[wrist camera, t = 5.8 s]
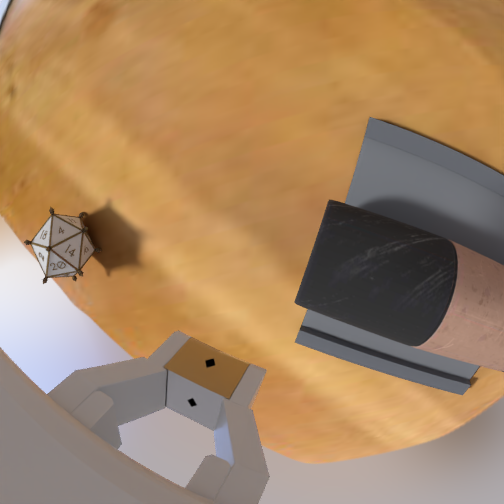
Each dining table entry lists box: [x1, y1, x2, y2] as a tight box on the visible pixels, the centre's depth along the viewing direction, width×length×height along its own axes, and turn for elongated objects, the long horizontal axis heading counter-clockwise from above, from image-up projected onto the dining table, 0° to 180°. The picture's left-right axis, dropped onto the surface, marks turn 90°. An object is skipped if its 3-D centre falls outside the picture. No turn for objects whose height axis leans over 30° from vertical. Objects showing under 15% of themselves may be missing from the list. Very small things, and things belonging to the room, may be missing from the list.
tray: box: [295, 117, 504, 395], centre depth 22 cm, size 20×19×1 cm
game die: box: [24, 207, 102, 284], centre depth 31 cm, size 9×8×10 cm
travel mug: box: [295, 200, 504, 372], centre depth 18 cm, size 8×8×20 cm
